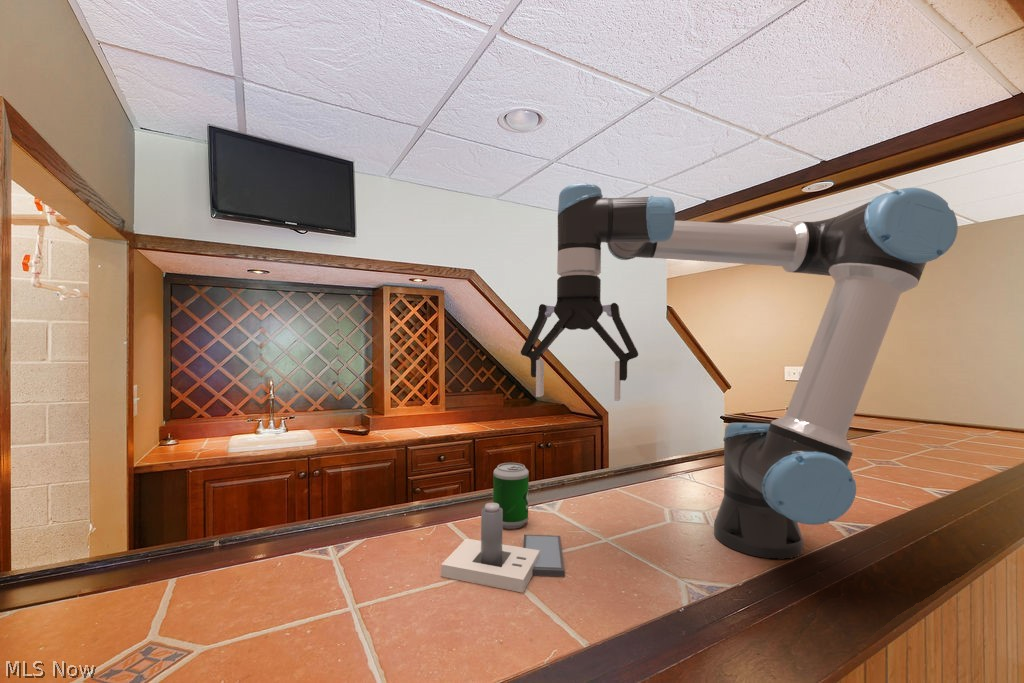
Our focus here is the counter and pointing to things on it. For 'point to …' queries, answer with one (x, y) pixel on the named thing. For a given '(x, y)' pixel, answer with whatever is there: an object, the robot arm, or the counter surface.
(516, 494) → the soda can
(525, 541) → the phone
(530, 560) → the outlet
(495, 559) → the plug
